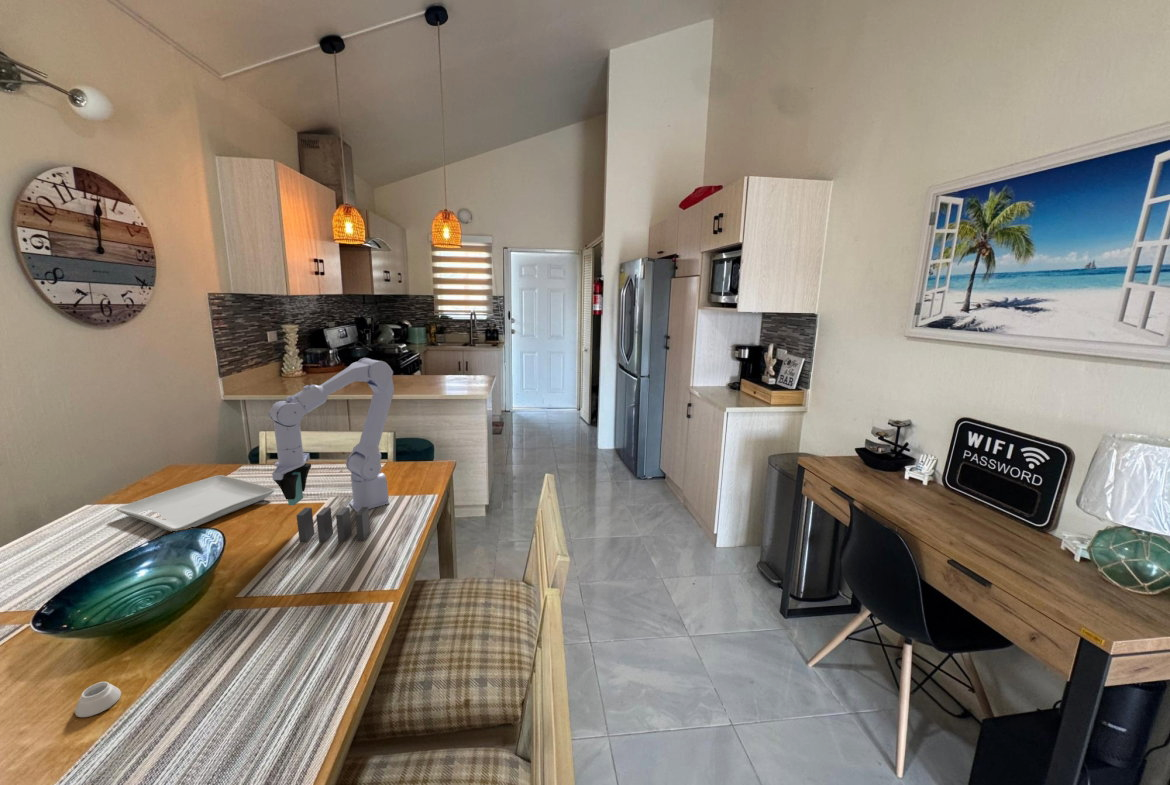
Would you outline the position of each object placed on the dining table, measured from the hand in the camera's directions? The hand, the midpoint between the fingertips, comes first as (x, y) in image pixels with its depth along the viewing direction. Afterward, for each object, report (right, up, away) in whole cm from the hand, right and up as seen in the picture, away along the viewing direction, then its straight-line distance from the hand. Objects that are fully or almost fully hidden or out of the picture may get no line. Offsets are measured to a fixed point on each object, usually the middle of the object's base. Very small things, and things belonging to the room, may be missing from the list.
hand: (295, 494), depth 127 cm
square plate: (-35, -7, +12) cm, 37 cm away
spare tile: (0, -2, 0) cm, 2 cm away
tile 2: (+15, -11, -3) cm, 18 cm away
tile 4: (+5, -11, -3) cm, 12 cm away
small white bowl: (+2, -22, -53) cm, 57 cm away
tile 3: (+10, -11, -3) cm, 15 cm away
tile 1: (+19, -11, -2) cm, 22 cm away
